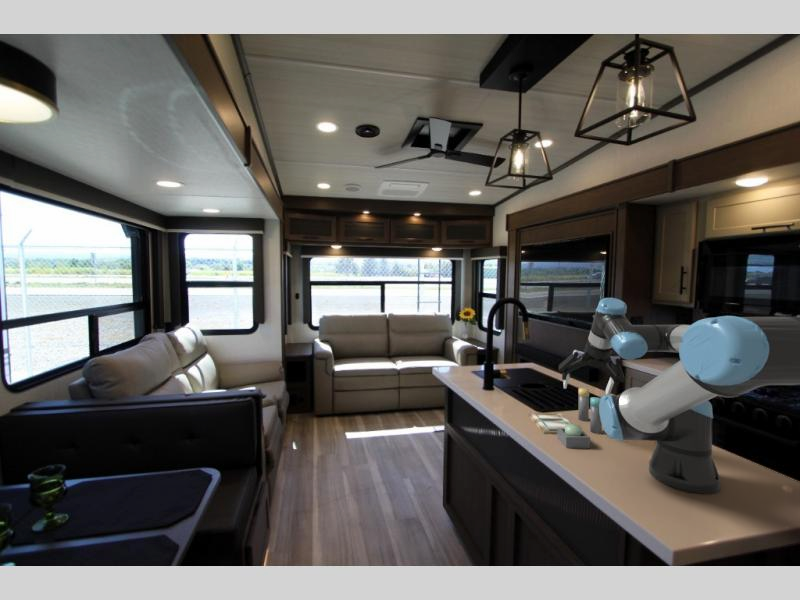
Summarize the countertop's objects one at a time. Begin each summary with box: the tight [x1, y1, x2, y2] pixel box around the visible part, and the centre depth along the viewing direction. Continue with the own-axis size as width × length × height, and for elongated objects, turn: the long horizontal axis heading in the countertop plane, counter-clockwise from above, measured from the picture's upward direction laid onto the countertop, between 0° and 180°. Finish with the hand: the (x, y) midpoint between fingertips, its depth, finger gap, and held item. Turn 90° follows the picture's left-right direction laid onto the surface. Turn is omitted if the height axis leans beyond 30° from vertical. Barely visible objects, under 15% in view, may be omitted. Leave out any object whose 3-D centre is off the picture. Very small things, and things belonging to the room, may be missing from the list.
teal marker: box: [589, 396, 603, 435], centre depth 128 cm, size 4×4×12 cm
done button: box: [565, 423, 583, 436], centre depth 119 cm, size 5×5×4 cm
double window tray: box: [528, 412, 573, 435], centre depth 136 cm, size 18×13×1 cm
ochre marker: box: [577, 387, 590, 422], centre depth 140 cm, size 4×4×12 cm
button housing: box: [556, 428, 591, 449], centre depth 119 cm, size 8×8×4 cm
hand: (585, 389), depth 126 cm, fingers open, 13 cm apart
